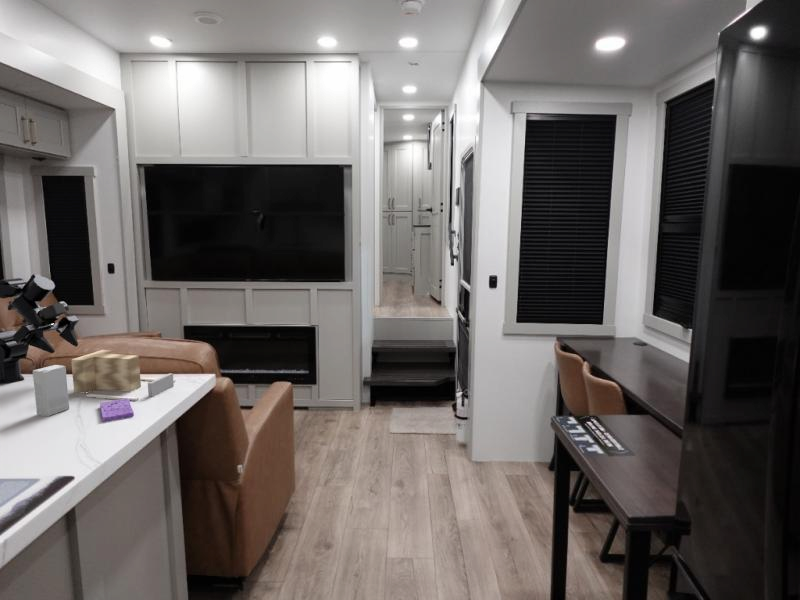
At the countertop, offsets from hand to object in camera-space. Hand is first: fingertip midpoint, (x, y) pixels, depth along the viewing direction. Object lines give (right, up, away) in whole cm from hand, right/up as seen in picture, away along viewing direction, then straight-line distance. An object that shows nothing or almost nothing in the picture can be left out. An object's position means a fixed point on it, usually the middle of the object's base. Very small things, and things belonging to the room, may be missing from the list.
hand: (65, 349), depth 150 cm
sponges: (+28, -15, -20) cm, 38 cm away
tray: (+23, -12, -2) cm, 26 cm away
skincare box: (+11, -15, -21) cm, 28 cm away
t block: (+15, -12, -1) cm, 19 cm away
